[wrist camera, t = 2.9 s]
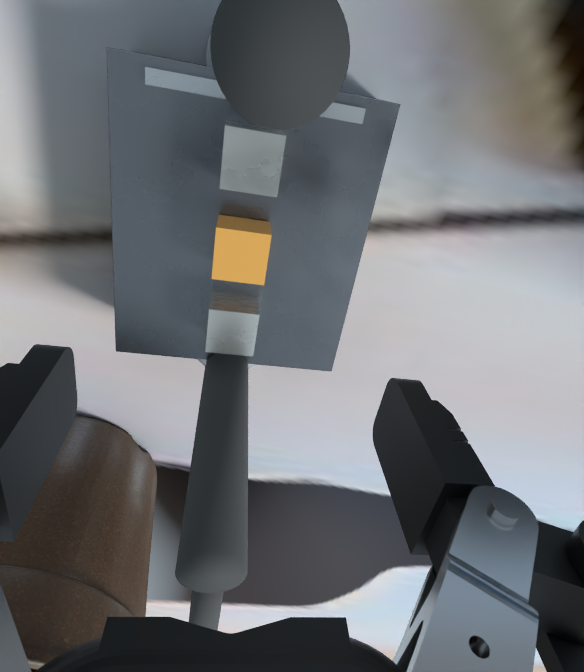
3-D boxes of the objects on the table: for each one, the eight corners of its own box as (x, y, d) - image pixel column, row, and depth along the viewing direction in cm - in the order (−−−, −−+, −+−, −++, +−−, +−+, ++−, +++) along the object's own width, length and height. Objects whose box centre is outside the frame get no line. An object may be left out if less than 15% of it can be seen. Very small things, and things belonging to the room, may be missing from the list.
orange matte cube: (269, 221, 21) (271, 235, 19) (263, 268, 22) (264, 285, 21) (218, 214, 21) (216, 227, 19) (214, 262, 22) (211, 278, 20)
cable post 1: (273, 303, 28) (297, 527, 14) (254, 420, 33) (258, 673, 19) (192, 293, 27) (134, 521, 13) (184, 415, 32) (135, 675, 18)
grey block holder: (377, 99, 23) (415, 107, 17) (321, 336, 29) (337, 392, 24) (130, 51, 21) (90, 44, 16) (132, 316, 28) (105, 372, 22)
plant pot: (191, 394, 31) (145, 654, 17) (186, 541, 39) (152, 799, 25) (-67, 379, 29) (-360, 665, 15) (-16, 538, 37) (-176, 821, 23)
